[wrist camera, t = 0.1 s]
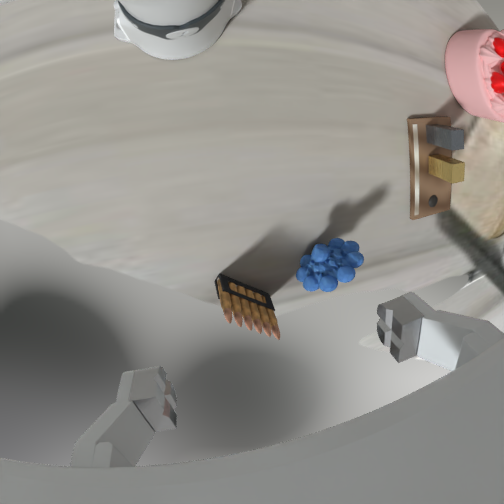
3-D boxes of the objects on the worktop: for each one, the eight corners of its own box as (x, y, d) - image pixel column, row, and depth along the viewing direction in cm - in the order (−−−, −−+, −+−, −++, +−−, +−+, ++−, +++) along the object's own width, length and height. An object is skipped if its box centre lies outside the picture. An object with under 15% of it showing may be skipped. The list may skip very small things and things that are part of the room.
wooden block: (428, 155, 49) (452, 164, 43) (440, 154, 49) (464, 162, 43) (428, 173, 51) (452, 183, 45) (440, 171, 51) (464, 180, 45)
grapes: (329, 210, 52) (362, 239, 42) (347, 237, 55) (380, 269, 45) (277, 252, 54) (298, 291, 43) (298, 276, 57) (321, 315, 47)
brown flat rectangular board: (407, 118, 46) (411, 119, 45) (447, 116, 47) (450, 117, 46) (410, 218, 56) (413, 220, 55) (446, 207, 57) (450, 209, 56)
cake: (444, 109, 47) (497, 119, 34) (439, 17, 37) (491, 11, 25) (495, 121, 49) (541, 134, 37) (493, 43, 40) (539, 46, 28)
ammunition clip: (269, 294, 58) (287, 336, 47) (264, 301, 58) (280, 344, 48) (219, 273, 54) (227, 316, 43) (214, 281, 54) (221, 325, 44)
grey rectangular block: (425, 124, 46) (451, 130, 40) (438, 123, 47) (463, 129, 41) (426, 142, 48) (451, 150, 42) (439, 141, 48) (463, 148, 42)
